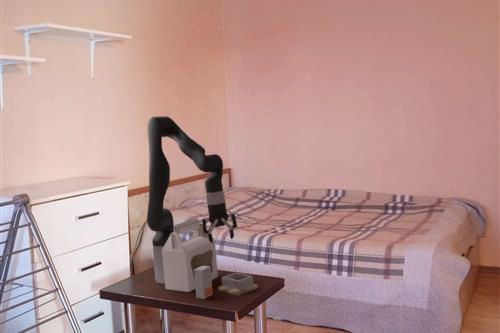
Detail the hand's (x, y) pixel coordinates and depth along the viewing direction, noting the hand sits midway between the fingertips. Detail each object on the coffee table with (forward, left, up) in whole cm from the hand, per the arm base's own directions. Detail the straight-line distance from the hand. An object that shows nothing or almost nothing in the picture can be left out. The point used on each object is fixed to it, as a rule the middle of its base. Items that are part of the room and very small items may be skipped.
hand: (221, 240), depth 215 cm
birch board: (+4, +4, -21) cm, 22 cm away
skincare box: (-1, -10, -21) cm, 24 cm away
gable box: (-20, -2, -21) cm, 30 cm away
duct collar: (+4, +4, -20) cm, 21 cm away
